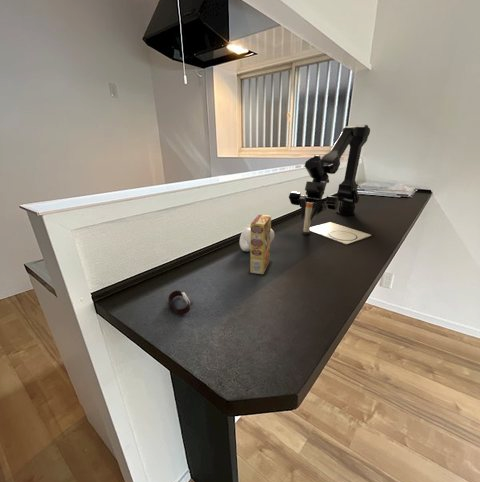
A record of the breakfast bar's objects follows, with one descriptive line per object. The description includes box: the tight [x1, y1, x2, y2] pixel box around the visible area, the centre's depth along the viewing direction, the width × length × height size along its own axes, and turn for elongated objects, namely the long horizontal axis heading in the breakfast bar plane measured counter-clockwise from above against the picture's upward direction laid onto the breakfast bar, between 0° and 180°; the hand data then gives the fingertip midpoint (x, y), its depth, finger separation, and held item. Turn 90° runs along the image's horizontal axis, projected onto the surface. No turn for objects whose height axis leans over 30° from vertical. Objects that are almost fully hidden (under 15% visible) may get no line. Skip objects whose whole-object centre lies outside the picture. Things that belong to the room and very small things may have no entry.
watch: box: [167, 290, 191, 315], centre depth 61 cm, size 8×5×4 cm, turn 33°
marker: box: [302, 202, 314, 236], centre depth 103 cm, size 2×2×12 cm
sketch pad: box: [309, 221, 372, 245], centre depth 107 cm, size 20×16×1 cm
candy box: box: [249, 214, 272, 275], centre depth 77 cm, size 9×4×15 cm, turn 162°
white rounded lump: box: [239, 223, 275, 253], centre depth 89 cm, size 11×12×9 cm
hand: (306, 219), depth 102 cm, fingers open, 3 cm apart
